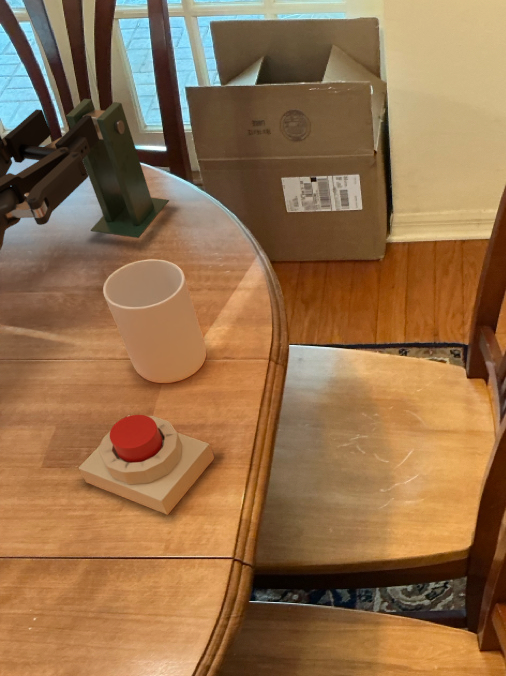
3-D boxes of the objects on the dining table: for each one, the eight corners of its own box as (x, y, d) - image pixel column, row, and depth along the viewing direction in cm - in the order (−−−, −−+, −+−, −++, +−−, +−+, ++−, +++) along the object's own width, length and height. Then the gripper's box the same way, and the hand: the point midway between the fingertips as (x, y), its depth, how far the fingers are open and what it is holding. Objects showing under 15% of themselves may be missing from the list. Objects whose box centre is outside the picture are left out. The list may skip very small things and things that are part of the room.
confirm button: (107, 454, 74) (99, 439, 72) (135, 424, 76) (128, 409, 74) (144, 468, 72) (137, 453, 71) (171, 437, 75) (165, 422, 73)
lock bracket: (141, 246, 100) (101, 130, 88) (93, 239, 101) (47, 124, 89) (171, 208, 105) (137, 94, 93) (125, 202, 106) (86, 88, 94)
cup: (132, 389, 84) (99, 313, 76) (137, 320, 91) (107, 244, 83) (208, 379, 85) (184, 303, 76) (207, 312, 92) (185, 234, 83)
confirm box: (85, 482, 76) (70, 455, 73) (135, 429, 81) (122, 401, 77) (168, 515, 74) (155, 488, 70) (214, 458, 78) (205, 430, 75)
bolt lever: (66, 170, 85) (59, 147, 83) (23, 164, 86) (15, 141, 84) (128, 134, 94) (123, 112, 92) (88, 129, 95) (82, 108, 93)
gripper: (-113, 261, 79) (11, 148, 92) (45, 287, 76) (151, 166, 89) (-158, 192, 73) (-18, 81, 86) (11, 217, 70) (130, 98, 83)
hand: (67, 124), depth 88 cm, fingers closed on bolt lever, 5 cm apart
